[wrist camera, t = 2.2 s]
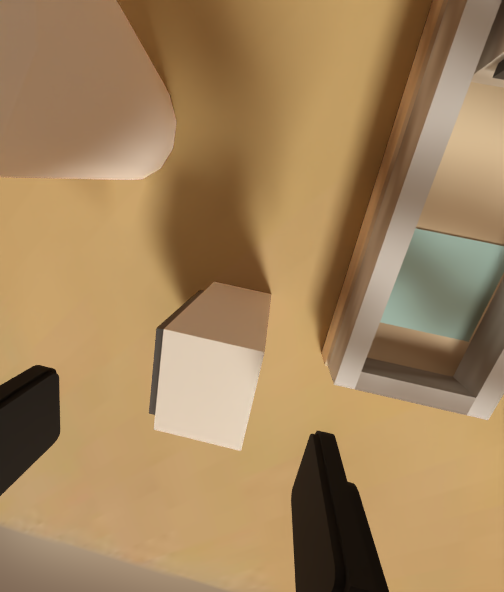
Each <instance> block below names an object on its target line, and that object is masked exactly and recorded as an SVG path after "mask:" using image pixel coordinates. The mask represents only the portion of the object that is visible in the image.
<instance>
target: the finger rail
mask: <svg viewBox="0 0 504 592" xmlns="http://www.w3.org/2000/svg"><path fill="white" fill-rule="evenodd" d="M321 354H322V357H323V360H324V364H325V365H327V366H328V368H329V371H330V374H331V377H332V380H333V383H334V385H338V386H343V387H347V388H351V389H356V390H360V391H364V392H369V393H373V394H377V395H381V396H386V397H390V398H394V399H399V400H403V401H407V402H412V403H416V404H420V405H425V406H429V407H433V408H438V409H442V410H446V411H451V412H455V413H459V414H464V415H468V416H472V417H476V418H481V419H485V420H488V419H489V418H490V416H491V414H492V413H493V411H494V409H495V408H496V406H497V404H498V403H499V401H500V399H501V398H502V396H503V394H504V0H433V1H432V4H431V8H430V11H429V14H428V17H427V20H426V23H425V27H424V30H423V33H422V36H421V39H420V42H419V46H418V49H417V52H416V55H415V58H414V62H413V65H412V68H411V71H410V74H409V77H408V81H407V84H406V87H405V90H404V93H403V96H402V100H401V103H400V106H399V109H398V112H397V115H396V119H395V122H394V125H393V128H392V131H391V134H390V138H389V141H388V144H387V147H386V150H385V153H384V157H383V160H382V163H381V166H380V169H379V173H378V176H377V179H376V182H375V185H374V188H373V192H372V195H371V198H370V201H369V204H368V207H367V211H366V214H365V217H364V220H363V223H362V226H361V230H360V233H359V236H358V239H357V242H356V245H355V249H354V252H353V255H352V258H351V261H350V264H349V268H348V271H347V274H346V277H345V280H344V284H343V287H342V290H341V293H340V296H339V299H338V303H337V306H336V309H335V312H334V315H333V318H332V322H331V325H330V328H329V331H328V334H327V337H326V341H325V344H324V347H323V350H322V353H321Z"/></svg>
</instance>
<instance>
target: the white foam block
mask: <svg viewBox="0 0 504 592" xmlns="http://www.w3.org/2000/svg"><path fill="white" fill-rule="evenodd" d="M270 301H271V294H269V293H264V292H260V291H255V290H250V289H246V288H241V287H237V286H232V285H228V284H223V283H218V282H213V283H212V284H211V285H210V286H209V287H208V288H207V289H206V290H205V291H203V290H199V291H198V292H197V293H196V294H195V295H194V296H193V297H191V298H190V299H189V300H188V301H187V302H186V303H185V304H183V305H182V306H181V307H180V308H179V309H178V310H177V311H175V312H174V313H173V314H172V315H171V316H170V317H169V318H167V319H166V320H165V321H164V322H163V323H162V324H161V325H159V326H158V327H157V329H156V340H155V352H154V363H153V374H152V385H151V396H150V407H149V413H150V414H154V415H155V422H154V430H158V431H162V432H166V433H170V434H174V435H179V436H183V437H187V438H191V439H195V440H199V441H203V442H207V443H211V444H215V445H219V446H223V447H227V448H231V449H235V450H239V451H241V449H242V445H243V440H244V436H245V432H246V428H247V424H248V419H249V415H250V411H251V407H252V402H253V398H254V394H255V390H256V386H257V381H258V377H259V373H260V369H261V365H262V360H263V356H264V352H265V343H266V335H267V327H268V318H269V310H270Z"/></svg>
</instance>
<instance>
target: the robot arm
mask: <svg viewBox="0 0 504 592" xmlns="http://www.w3.org/2000/svg"><path fill="white" fill-rule="evenodd" d="M59 434H60V401H59V375H58V374H56V370H55V369H53V368H49V367H45V366H40V365H35V366H33V367H31V368H29V369H28V370H26V371H24V372H23V373H21V374H19V375H17V376H16V377H14V378H12V379H11V380H9V381H7V382H5V383H4V384H2V385H0V496H1V495H2V494H3V493H4V492H5V491H6V490H7V489H8V488H9V487H10V486H11V485H12V484H13V483H14V482H15V481H16V480H17V479H18V478H19V477H20V476H21V475H22V474H23V473H24V472H25V471H26V470H27V469H28V468H29V467H30V466H31V465H32V464H33V463H34V462H35V461H36V460H37V459H38V458H39V457H40V456H41V455H43V454H44V453H45V452H46V451H47V450H48V449H49V448H50V447H51V446H52V445H53V444H54V443H55V441H56V440H57V439H58V437H59ZM291 505H292V525H293V544H294V564H295V583H296V592H389V590H388V587H387V583H386V580H385V577H384V574H383V570H382V567H381V564H380V560H379V557H378V554H377V551H376V547H375V544H374V541H373V538H372V534H371V531H370V528H369V524H368V521H367V518H366V515H365V511H364V508H363V505H362V501H361V498H360V495H359V492H358V489H357V487H356V486H355V484H353V483H350V482H347V479H346V475H345V471H344V468H343V464H342V460H341V457H340V453H339V449H338V446H337V442H336V438H335V436H334V435H333V434H330V433H326V432H321V431H317V432H316V433H315V434H311V435H310V437H309V440H308V443H307V446H306V449H305V452H304V455H303V458H302V461H301V464H300V467H299V470H298V473H297V476H296V479H295V483H294V486H293V489H292V495H291Z"/></svg>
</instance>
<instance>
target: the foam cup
mask: <svg viewBox="0 0 504 592" xmlns="http://www.w3.org/2000/svg"><path fill="white" fill-rule="evenodd" d="M175 130H176V118H175V114H174V110H173V106H172V102H171V98H170V94H169V93H168V91H167V89H166V86H165V85H164V83H163V81H162V79H161V78H160V76H159V74H158V72H157V71H156V69H155V67H154V65H153V64H152V62H151V60H150V58H149V56H148V55H147V53H146V51H145V49H144V48H143V46H142V44H141V42H140V41H139V39H138V37H137V35H136V34H135V32H134V30H133V28H132V27H131V25H130V23H129V21H128V19H127V18H126V16H125V14H124V12H123V11H122V9H121V7H120V5H119V4H118V2H117V0H0V177H13V178H61V179H110V180H137V179H144V178H145V177H147V176H149V175H151V174H152V173H154V172H156V171H158V170H159V169H161V167H162V166H163V164H164V162H165V161H166V159H167V158H168V156H169V154H170V153H171V151H172V149H173V146H174V138H175Z"/></svg>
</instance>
